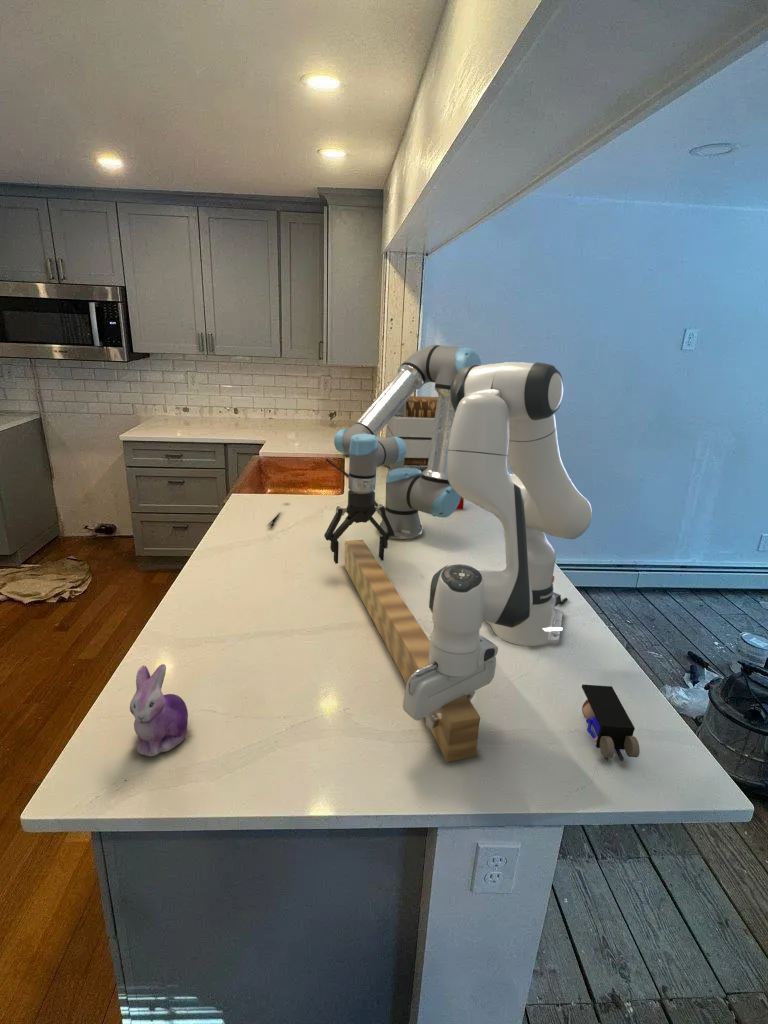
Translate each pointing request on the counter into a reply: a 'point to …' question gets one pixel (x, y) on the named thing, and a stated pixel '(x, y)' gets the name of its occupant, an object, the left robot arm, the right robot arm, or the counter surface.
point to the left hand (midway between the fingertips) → (358, 560)
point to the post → (409, 648)
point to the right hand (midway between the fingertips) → (447, 717)
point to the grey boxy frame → (414, 430)
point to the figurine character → (609, 722)
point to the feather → (273, 520)
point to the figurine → (157, 714)
